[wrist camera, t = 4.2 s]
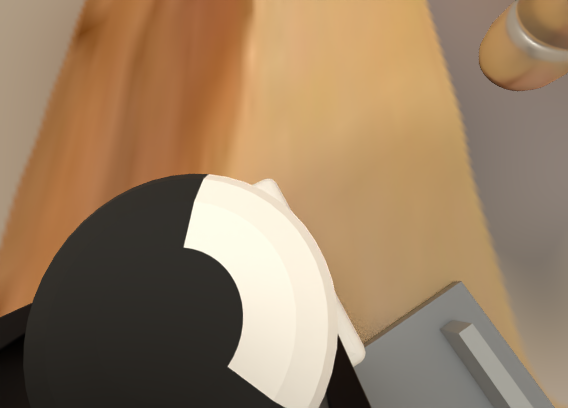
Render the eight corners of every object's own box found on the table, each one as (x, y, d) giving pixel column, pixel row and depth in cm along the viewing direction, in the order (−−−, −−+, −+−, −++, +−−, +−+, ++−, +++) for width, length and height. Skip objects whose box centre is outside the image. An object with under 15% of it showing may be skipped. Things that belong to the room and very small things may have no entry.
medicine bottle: (213, 399, 15) (0, 736, 4) (164, 272, 17) (-81, 229, 5) (334, 331, 16) (465, 426, 5) (275, 218, 18) (266, 84, 6)
